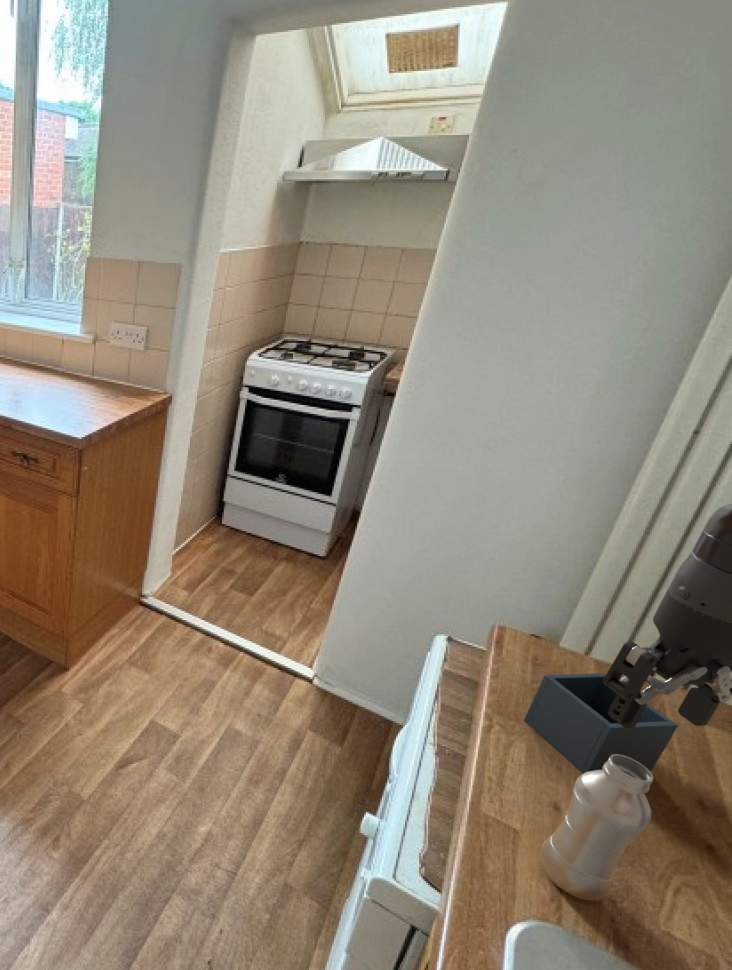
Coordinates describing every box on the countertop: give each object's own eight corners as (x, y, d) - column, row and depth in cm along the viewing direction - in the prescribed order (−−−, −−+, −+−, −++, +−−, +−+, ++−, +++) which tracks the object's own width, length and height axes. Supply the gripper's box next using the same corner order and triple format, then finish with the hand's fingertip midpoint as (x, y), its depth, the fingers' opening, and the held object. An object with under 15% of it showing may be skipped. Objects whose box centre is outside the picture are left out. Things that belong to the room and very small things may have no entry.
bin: (650, 773, 92) (678, 725, 88) (585, 776, 91) (611, 728, 88) (582, 717, 102) (605, 672, 98) (523, 720, 101) (544, 674, 97)
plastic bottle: (559, 904, 74) (625, 790, 67) (521, 850, 80) (578, 740, 73) (617, 913, 73) (690, 798, 66) (574, 857, 80) (637, 747, 72)
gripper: (701, 628, 58) (631, 751, 64) (836, 625, 58) (755, 747, 64) (619, 582, 65) (564, 697, 71) (741, 579, 65) (676, 693, 71)
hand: (655, 721), depth 67 cm, fingers open, 8 cm apart
